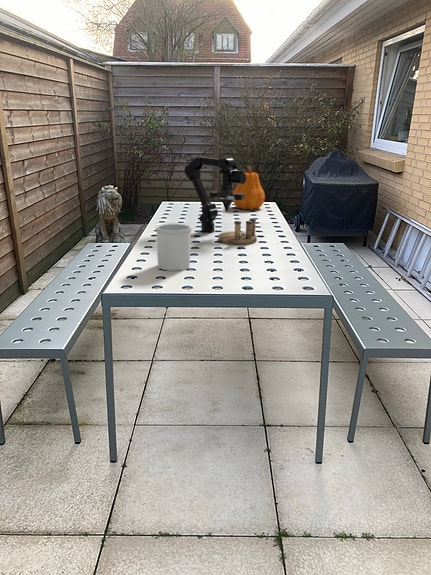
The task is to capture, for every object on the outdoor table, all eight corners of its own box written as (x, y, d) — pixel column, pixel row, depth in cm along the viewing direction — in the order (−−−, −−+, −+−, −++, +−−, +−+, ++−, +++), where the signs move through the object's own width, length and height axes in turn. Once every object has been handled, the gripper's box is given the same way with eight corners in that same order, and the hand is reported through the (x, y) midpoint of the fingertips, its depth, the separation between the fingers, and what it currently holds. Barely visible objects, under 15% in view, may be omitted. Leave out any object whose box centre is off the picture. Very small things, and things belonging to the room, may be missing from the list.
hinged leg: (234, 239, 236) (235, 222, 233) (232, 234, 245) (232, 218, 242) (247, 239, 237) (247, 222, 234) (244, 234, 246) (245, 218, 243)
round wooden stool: (211, 238, 249) (211, 217, 245) (240, 234, 260) (241, 214, 256) (234, 246, 233) (234, 224, 230) (264, 241, 244) (265, 220, 241)
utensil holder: (173, 259, 211) (173, 221, 205) (198, 265, 202) (198, 226, 196) (149, 266, 200) (148, 226, 194) (174, 273, 191) (173, 232, 185)
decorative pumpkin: (228, 205, 345) (229, 164, 335) (259, 205, 350) (261, 164, 339) (235, 211, 324) (236, 167, 314) (268, 210, 328) (270, 167, 318)
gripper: (205, 183, 244) (204, 212, 250) (237, 185, 237) (237, 215, 242) (213, 180, 254) (213, 209, 259) (245, 182, 247) (244, 212, 252)
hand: (226, 211), depth 253 cm, fingers closed
